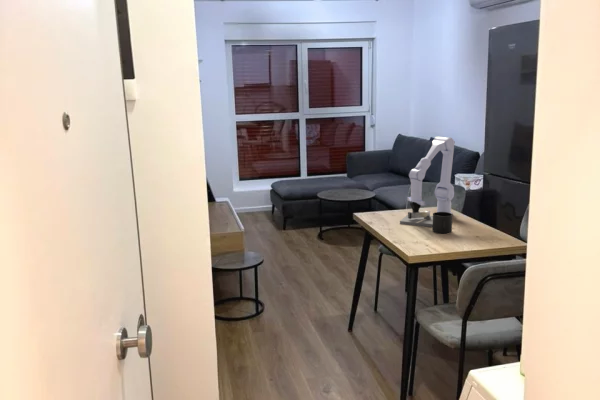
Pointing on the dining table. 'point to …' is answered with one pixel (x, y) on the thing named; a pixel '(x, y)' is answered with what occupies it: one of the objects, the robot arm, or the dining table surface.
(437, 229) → the mug
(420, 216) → the bar
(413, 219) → the plate
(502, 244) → the dining table surface
